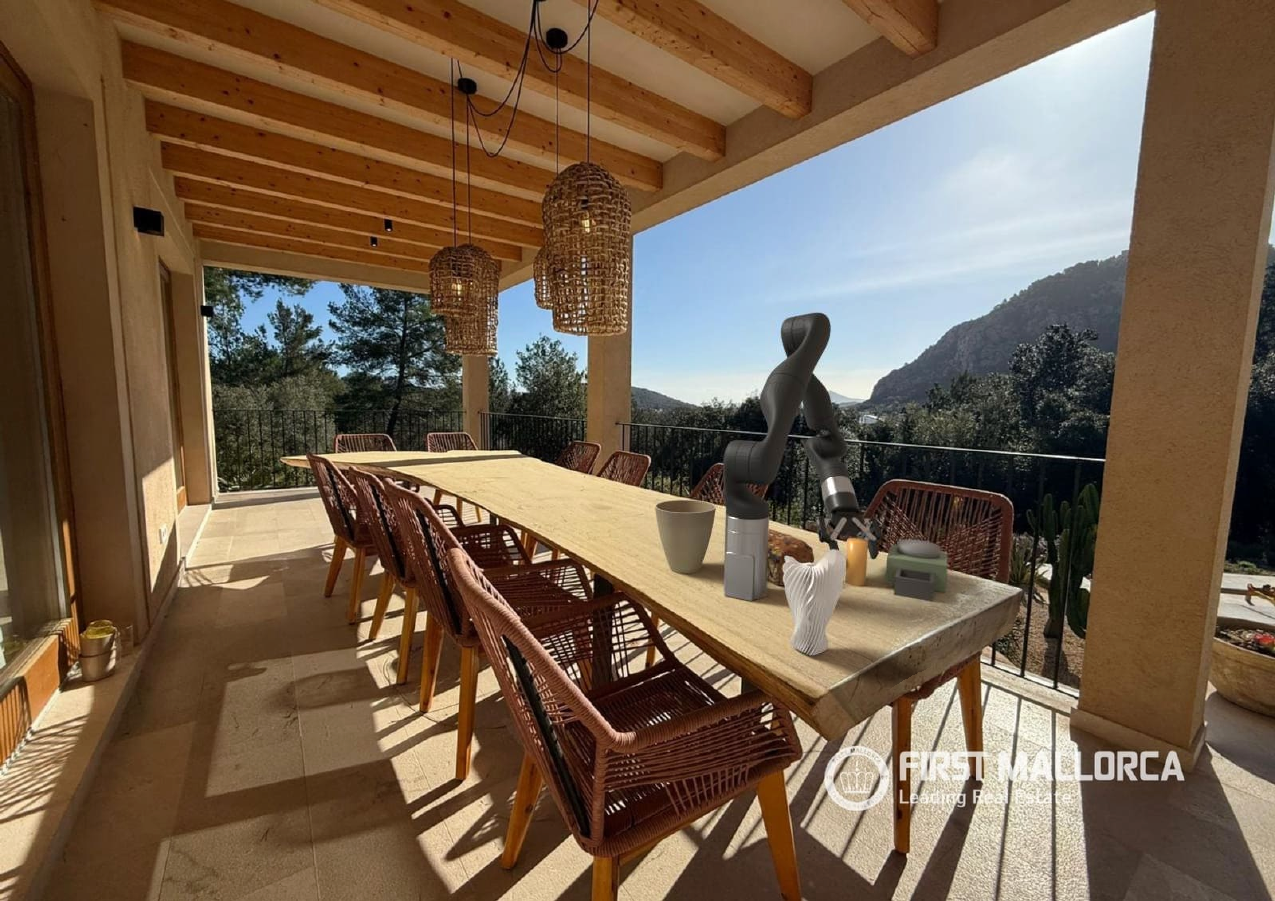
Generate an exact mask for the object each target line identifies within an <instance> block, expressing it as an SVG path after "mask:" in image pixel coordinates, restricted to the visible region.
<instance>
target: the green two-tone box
mask: <svg viewBox="0 0 1275 901" xmlns="http://www.w3.org/2000/svg"><path fill="white" fill-rule="evenodd" d="M887 553H888V554H887V557H886V569H885V570H886V571H885V583H889V584H893V585H894V586H893V587H894V589H893V595H894V596H900V597H904V598H905V597H906V598H910V599H917V600H921V601H927V602H932V601H933V602H934V592H939V593H946V587H947V575H948V552H947V551H941V546H940V545H939V544H937V543H934V542H930V541H926V540H918V539H900V540H897V542H896V544H891V545H890V548H889V551H888V552H887Z"/></svg>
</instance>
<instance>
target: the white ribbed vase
mask: <svg viewBox="0 0 1275 901" xmlns="http://www.w3.org/2000/svg"><path fill="white" fill-rule="evenodd" d="M785 561H786V563H785V564H784V565H783V568H782V569H783V572H784V576H783V582H784V585H783V586H784V592H785V597H786V601H787V604H788V607H789V610H790V613H791V616H792V621H793V626H794V630H793V634H792V635H791V637H790V640H789V642H790V644H791V646H793V648H794V649H796V650H798V651H800V652H801V653H804V654H806V655H809V656H816V655H818V654H821V653H823V652H825V651H827V649H828V648H829V640H828V637H827V633H826V629H827V626H828V624H829V623H830V620H831V618H832V616H833V615H834V614H833V613H834V611H835V609H836V605H837V603H838V601H839V598H840V597H841V594H842V592H843V587H844V586H843V584H844V583H843V582H844V581H845V576H846V567H845V565H846V555H845V554H844V553H843V552H842V551H840V549H839V550H835V549H833V550H830V549H829V550H828V551H827V552H826V553H825V554H824V555H823V556H822V558H820V560H819V561H818V562H817V563H814V562H813V563H799V562H797V561H796V560H795V559H794V558H793V557H789V556H785Z"/></svg>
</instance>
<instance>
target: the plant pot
mask: <svg viewBox="0 0 1275 901" xmlns="http://www.w3.org/2000/svg"><path fill="white" fill-rule="evenodd" d="M654 509H655V517H656V524H657V528H658V533H659V538H660V542H661V546H662V548H663V551H664V555H665V558H666V561H667V564H668V566H669V569H670V570H671V571H673V572H674V573H677V574H678V573H679V574H694V573H697V572H699V571H700V569H701V568H702V564H703V562H704V559H705V556H706V553H707V550H708V548H709V545H710V544H709V543H710V540H711V537H712V532H713V527H714V523H715V516H716V509H717V506H716V505H715V504H714V503H711V502H708V501H703V500H695V499H673V500H672V499H671V500H664V501H660V502H657V503H656V504H654Z"/></svg>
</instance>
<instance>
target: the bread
mask: <svg viewBox="0 0 1275 901" xmlns="http://www.w3.org/2000/svg"><path fill="white" fill-rule="evenodd" d="M785 556H789V557H793V558H794V559H795V560H796V561H797V562H799V563H813V564H814V562H815V555H814V550H813V547H812V546H810V545H809V544H808V543H807V542H806V541H804V540H802V539H800V538H798V537H795V536H792V535H790V534H786V533H783V532H780V531H777V530H775V529H771V528H769V534H768V563H767V582H770V583H772V584H775V585H777V586H785V585H784V582H783V576H784V572H783V569H782V568H783V565H784V564H785V563H786V561H785Z"/></svg>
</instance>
